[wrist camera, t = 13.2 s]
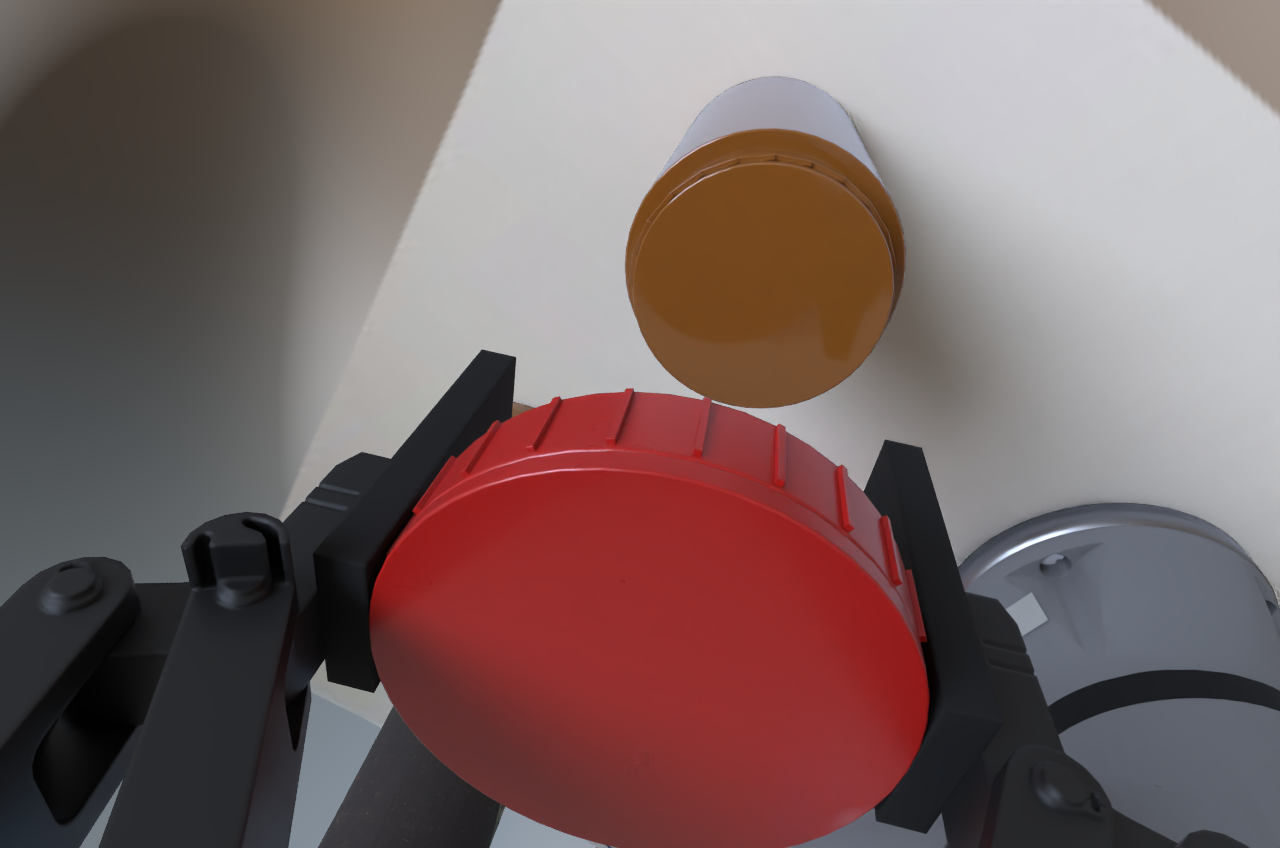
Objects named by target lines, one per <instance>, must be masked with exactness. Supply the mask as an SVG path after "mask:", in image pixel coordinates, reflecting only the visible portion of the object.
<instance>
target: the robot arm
mask: <svg viewBox="0 0 1280 848" xmlns="http://www.w3.org/2000/svg"><path fill="white" fill-rule="evenodd" d="M515 366H516V357H513V356H508V355H504V354H499V353H495V352H490V351H486V350H481V351H480V353H479V354H478V355H477V356H476V357H475V359H474V360H473V361H472V362H471V363H470V365H469V366H468V367H467V368H466V369H465V371H464V372H463V373H462V374H461V375H460V377H459V378H458V379H457V380H456V381H455V383H454V384H453V385H452V386H451V387H450V389H449V390H448V391H447V392H446V393H445V395H444V396H443V397H442V398H441V399H440V401H439V402H438V403H437V404H436V405H435V407H434V408H433V409H432V410H431V412H430V413H429V414H428V415H427V416H426V418H425V419H424V420H423V421H422V422H421V424H420V425H419V426H418V427H417V428H416V430H415V431H414V432H413V433H412V434H411V436H410V437H409V438H408V439H407V440H406V442H405V443H404V444H403V445H402V446H401V448H400V449H399V450H398V451H397V452H396V454H395V455H394V456H393V457H392V458H391V459H389V458H385V457H381V456H376V455H372V454H368V453H364V452H361V453H359V454H357V455H355V456H353V457H351V458H349V459H348V460H346V461H344V462H342V463H340V464H338V465H336V466H335V467H334V468H333V469H332V471H331V472H330V473H329V474H328V475H327V476H326V477H325V478H324V479H323V480H322V481H321V482H320V485H319V487H316V488H315V489H314V490H313V491H312V492H311V493H310V494H309V495H308V496H307V497H306V500H305V502H302V503H301V504H300V505H299V506H298V507H297V508H296V509H295V510H294V511H293V512H292V513H291V514H290V516H289V517H288V518H287V519H286V520H285V521H284V522H283V523H282V522H281V521H280V520H279V519H276V518H274V517H272V516H269V515H267V514H262V513H251V512H243V513H236V514H229V515H224V516H221V517H219V518H216V519H213V520H210V521H208V522H205V523H204V524H203V525H201V526H200V527H198V528H197V529H195V530H194V531H192V532H191V533H190V534H189V535H188V537H187V538H186V539H185V541H184V542H183V544H182V545H181V549H182V553H183V557H184V561H185V565H186V569H187V573H188V577H189V581H190V582H184V583H142V584H141V583H140V584H139V583H136V584H135V583H134V580H133V577H132V574H131V571H130V570H129V569H128V568H127V567H126V566H125V565H124V564H123V563H122V562H121V561H117V560H113V559H109V558H106V557H83V558H79V559H74V560H70V561H66V562H62V563H59V564H57V565H55V566H52V567H50V568H48V569H46V570H44V571H41V572H39V573H38V574H37V575H35V576H34V577H33V578H31V579H30V580H29V581H27V582H26V583H25V584H23V585H22V586H21V587H20V588H19V589H18V590H17V591H16V592H15V593H14V594H13V595H12V596H11V597H10V598H9V599H8V600H7V601H6V602H5V603H4V604H3V605H2V606H1V607H0V848H79V847H80V846H81V844H82V842H83V841H84V839H85V838H86V836H87V835H88V833H89V832H90V830H91V828H92V827H93V825H94V824H95V822H96V820H97V819H98V817H99V816H100V814H101V813H102V811H103V810H104V808H105V806H106V805H107V803H108V802H109V800H110V799H111V797H112V795H113V794H114V792H115V791H116V789H117V788H118V786H119V785H120V783H121V781H122V780H123V782H122V785H121V787H120V790H119V793H118V795H117V798H116V801H115V804H114V807H113V809H112V812H111V815H110V817H109V820H108V823H107V826H106V828H105V831H104V834H103V837H102V840H101V842H100V845H99V848H288V846H289V839H290V833H291V826H292V819H293V813H294V807H295V801H296V794H297V788H298V781H299V775H300V769H301V762H302V755H303V749H304V742H305V737H306V730H307V724H308V718H309V711H310V705H311V689H310V680H311V678H312V677H313V675H314V674H315V673H316V671H317V670H318V668H319V667H320V665H321V664H322V662H323V661H324V659H325V662H326V670H327V678H328V681H329V682H333V683H337V684H341V685H345V686H349V687H352V688H356V689H360V690H364V691H368V692H372V693H374V692H375V690H376V688H377V687H378V685H379V683H380V681H381V680H380V678H379V675H378V672H377V669H376V666H375V662H374V659H373V656H372V651H371V642H370V632H369V612H370V601H371V597H372V593H373V590H374V586H375V582H376V578H377V576H378V574H379V572H380V570H381V568H382V566H383V564H384V562H385V560H386V555H387V552H388V550H389V549H390V548H391V546H392V545H393V543H394V542H395V540H396V539H397V538H398V536H399V535H400V533H401V532H402V530H403V529H404V528H405V526H406V525H407V523H408V522H409V521H410V519H411V518H412V516H413V515H414V512H413V511H412V510H413V509H414V508H415V506H416V505H417V503H418V502H419V500H420V499H421V498H422V496H423V495H424V493H425V492H426V491H427V489H428V488H429V486H430V485H431V484H432V482H433V481H434V479H435V478H436V477H437V475H438V474H439V472H440V471H441V469H442V468H443V467H444V465H445V464H446V462H447V461H448V460H449V458H450V457H451V456H454V457H455V458H457V457H458V456H460V455H461V454H462V453H463V452H464V451H465V450H466V449H467V448H468V447H469V446H470V445H471V444H472V443H473V442H474V441H475V440H477V439H478V438H480V437H481V436H483V435H484V434H485V433H486V432H487V431H488V429H489V428H490V426H491V425H492V423H493V422H495V421H497V420H499V422H500V423H502V422H505V421H507V420H509V419H511V418H512V408H513V394H514V380H515ZM864 493H865V495H866V496H867V497H868V499H869V500H870V501H871V503H872V504H873V505H874V507H875V508H876V509H877V511H878V512H879V513H880V515H881V516H882V517H883V516H886V515H887V516H888V518H889V519H890V522H891V527H892V532H893V537H894V540H895V542H896V543H897V546H898V549H899V552H900V555H901V558H902V561H903V564H904V567H905V570H910V569H911V571H912V575H913V580H914V584H915V589H916V593H917V598H918V602H919V607H920V612H921V616H922V621H923V625H924V630H925V634H926V639H927V641H926V642H921V648H922V651H923V656H924V661H925V666H926V672H927V679H928V687H929V694H930V699H929V713H928V723H927V727H926V730H925V734H924V737H923V741H922V744H921V747H920V750H919V752H918V753H917V755H916V757H915V758H914V760H913V762H912V764H911V766H910V768H909V770H908V771H907V773H906V774H905V775H904V777H903V778H902V779H901V781H900V782H899V784H898V785H897V786H896V787H895V789H894V790H893V791H892V792H891V793H890V794H889V795H888V796H887V797H885V798H884V799H883V800H882V801H881V802H880V803H879V804H878V805H877V806H875V807H874V808H873V809H872V810H870V811H869V812H867V813H866V814H864V815H863V816H861V817H860V818H858V819H857V820H855V821H854V822H852V823H850V824H848V825H846V826H844V827H842V828H840V829H838V830H836V831H834V832H832V833H830V834H828V835H826V836H823V837H820V838H817V839H814V840H812V841H809V842H806V843H803V844H800V845H796V846H792V847H788V848H1280V609H1279V605H1278V602H1277V599H1276V596H1275V594H1274V591H1273V589H1272V587H1271V585H1270V583H1269V581H1268V580H1267V578H1266V577H1265V576H1264V575H1263V573H1262V572H1261V571H1260V569H1259V568H1258V567H1257V566H1256V564H1255V563H1254V562H1253V561H1252V560H1251V558H1250V557H1249V556H1248V555H1247V553H1246V552H1245V551H1244V550H1243V549H1242V547H1241V546H1240V545H1239V544H1238V543H1237V542H1236V541H1235V540H1234V539H1233V538H1231V537H1230V536H1229V535H1227V534H1226V533H1225V532H1223V531H1222V530H1220V529H1219V528H1217V527H1215V526H1214V525H1212V524H1210V523H1208V522H1206V521H1204V520H1202V519H1200V518H1198V517H1195V516H1192V515H1189V514H1187V513H1184V512H1181V511H1177V510H1173V509H1169V508H1165V507H1159V506H1153V505H1145V504H1135V503H1104V504H1092V505H1084V506H1077V507H1072V508H1067V509H1062V510H1058V511H1054V512H1050V513H1047V514H1044V515H1041V516H1038V517H1035V518H1032V519H1029V520H1027V521H1025V522H1022V523H1020V524H1017V525H1015V526H1013V527H1011V528H1009V529H1007V530H1005V531H1003V532H1002V533H1000V534H998V535H997V536H995V537H993V538H992V539H990V540H989V541H987V542H986V543H985V544H983V545H982V546H981V547H979V548H978V549H977V550H976V551H974V552H973V553H972V554H971V555H970V556H969V557H968V558H967V559H966V560H965V561H964V562H963V563H962V564H961V565H960V566H959V568H958V567H957V563H956V560H955V557H954V553H953V550H952V547H951V543H950V540H949V537H948V533H947V530H946V527H945V523H944V520H943V517H942V513H941V510H940V507H939V503H938V500H937V497H936V493H935V490H934V487H933V483H932V480H931V477H930V473H929V470H928V467H927V463H926V460H925V457H924V453H923V450H922V448H921V447H916V446H912V445H907V444H903V443H898V442H894V441H889V440H885V441H884V444H883V446H882V449H881V451H880V453H879V456H878V458H877V461H876V463H875V466H874V468H873V470H872V473H871V475H870V478H869V480H868V483H867V485H866V487H865V490H864ZM123 778H124V779H123Z"/></svg>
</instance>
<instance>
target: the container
mask: <svg viewBox="0 0 1280 848" xmlns="http://www.w3.org/2000/svg"><path fill="white" fill-rule="evenodd" d="M504 808H505V806H504V805H502V804H500V803H499V802H497V801H495V800H493V799H492V798H490V797H488V796H486V795H485V794H483V793H482V792H480V791H479V790H477V789H476V788H474V787H473V786H472V785H470V784H469V783H467V782H466V781H464V780H463V779H461V778H460V777H459V776H458V775H457V774H455V773H454V772H453V771H452V770H450V769H449V768H448V767H447V766H446V765H444V764H443V763H442V762H441V761H440V760H439V759H438V758H437V757H436V756H435V755H434V754H432V753H431V752H430V751H429V750H428V749H427V748H426V747H425V746H424V745H423V744H422V743H421V742H420V740H419V739H418V738H417V737H416V736H415V734H414V733H413V732H412V731H411V729H410V728H409V727H408V726H407V725H406V723H405V722H404V721H403V719H402V718H401V716H400V715H399V713H398V712H397V710H396V708H395V707H394V706H393V708H392V710H391V712H390V713H389V715H388V717H387V719H386V721H385V723H384V725H383V727H382V729H381V731H380V733H379V735H378V736H377V738H376V740H375V742H374V744H373V745H372V748H371V749H370V751H369V753H368V755H367V757H366V759H365V761H364V763H363V764H362V766H361V768H360V770H359V772H358V774H357V776H356V778H355V780H354V782H353V783H352V785H351V787H350V789H349V791H348V793H347V795H346V797H345V799H344V801H343V803H342V804H341V806H340V808H339V810H338V812H337V814H336V816H335V817H334V819H333V821H332V823H331V825H330V827H329V828H328V830H327V832H326V834H325V836H324V838H323V839H322V842H321V843H320V845H319V847H318V848H489V847H490V845H491V842H492V839H493V837H494V834H495V832H496V829H497V826H498V824H499V822H500V819H501V816H502V814H503V811H504Z"/></svg>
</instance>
